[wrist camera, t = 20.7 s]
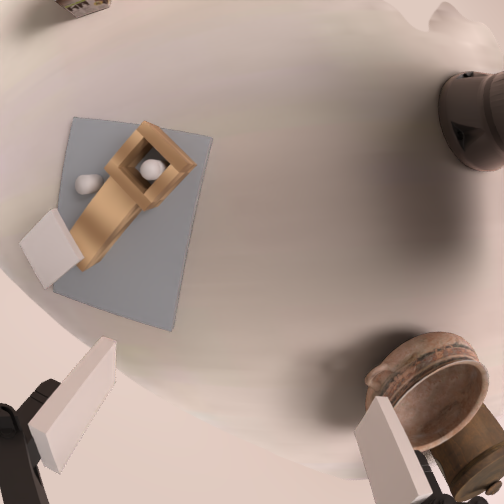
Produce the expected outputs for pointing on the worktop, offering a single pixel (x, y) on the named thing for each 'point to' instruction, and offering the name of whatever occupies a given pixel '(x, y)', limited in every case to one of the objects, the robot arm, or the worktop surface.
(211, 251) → the worktop surface
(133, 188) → the link
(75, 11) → the coffee box
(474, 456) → the wooden container
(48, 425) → the robot arm
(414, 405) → the cooking pot
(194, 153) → the pintle base
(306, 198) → the worktop surface
